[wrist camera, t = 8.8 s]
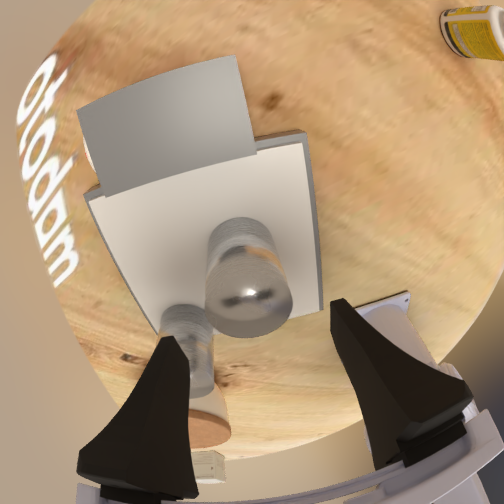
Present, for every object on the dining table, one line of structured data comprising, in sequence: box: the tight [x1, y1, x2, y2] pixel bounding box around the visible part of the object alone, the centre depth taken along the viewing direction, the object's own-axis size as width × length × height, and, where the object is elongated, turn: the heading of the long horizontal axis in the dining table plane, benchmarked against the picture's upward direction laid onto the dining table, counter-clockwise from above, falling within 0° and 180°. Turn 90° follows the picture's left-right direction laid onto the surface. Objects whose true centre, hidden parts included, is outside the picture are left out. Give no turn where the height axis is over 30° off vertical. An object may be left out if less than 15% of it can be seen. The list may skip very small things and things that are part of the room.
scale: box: [76, 55, 323, 336], centre depth 17 cm, size 20×15×5 cm
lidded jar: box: [188, 382, 231, 448], centre depth 26 cm, size 11×11×9 cm
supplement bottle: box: [440, 5, 504, 61], centre depth 8 cm, size 5×5×8 cm
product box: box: [191, 451, 226, 483], centre depth 45 cm, size 6×6×7 cm
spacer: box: [205, 217, 293, 338], centre depth 16 cm, size 4×4×6 cm
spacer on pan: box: [156, 304, 214, 399], centre depth 19 cm, size 4×4×6 cm
